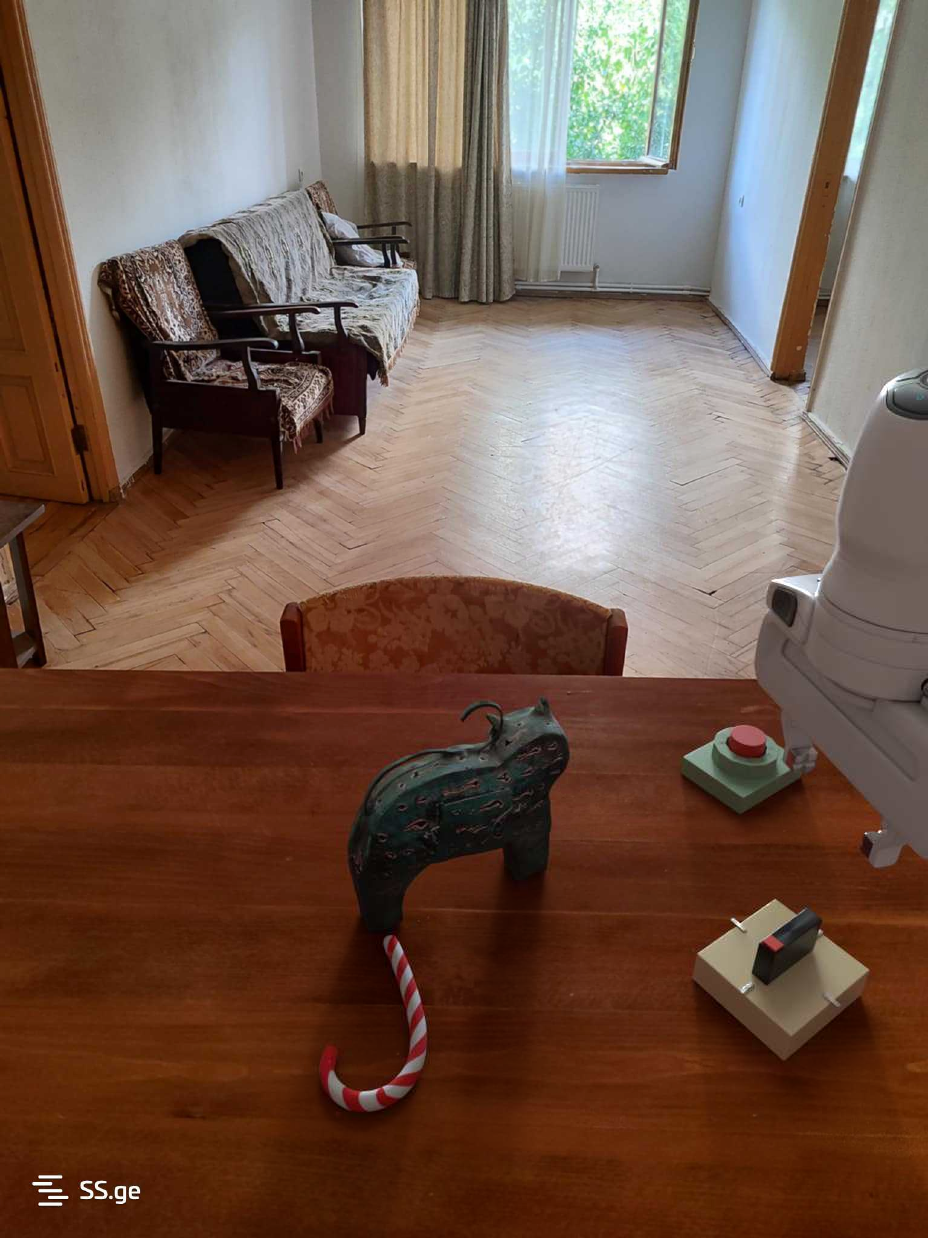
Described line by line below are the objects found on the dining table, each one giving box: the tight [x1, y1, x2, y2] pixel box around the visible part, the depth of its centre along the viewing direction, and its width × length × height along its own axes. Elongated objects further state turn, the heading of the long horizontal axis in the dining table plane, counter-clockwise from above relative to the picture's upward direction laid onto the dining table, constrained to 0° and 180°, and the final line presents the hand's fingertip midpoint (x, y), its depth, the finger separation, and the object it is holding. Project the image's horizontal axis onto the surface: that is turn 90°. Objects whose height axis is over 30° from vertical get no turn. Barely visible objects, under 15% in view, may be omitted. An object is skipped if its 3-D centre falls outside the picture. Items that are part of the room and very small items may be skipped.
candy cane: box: [319, 934, 428, 1113], centre depth 68 cm, size 8×1×15 cm
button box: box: [680, 726, 803, 815], centre depth 94 cm, size 10×8×4 cm
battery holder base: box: [692, 898, 870, 1062], centre depth 71 cm, size 10×10×3 cm
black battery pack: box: [751, 907, 823, 986], centre depth 69 cm, size 6×2×4 cm, turn 126°
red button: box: [728, 724, 767, 759], centre depth 93 cm, size 4×4×2 cm
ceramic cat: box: [347, 695, 571, 934], centre depth 75 cm, size 20×6×20 cm, turn 115°
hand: (834, 810), depth 61 cm, fingers open, 8 cm apart
